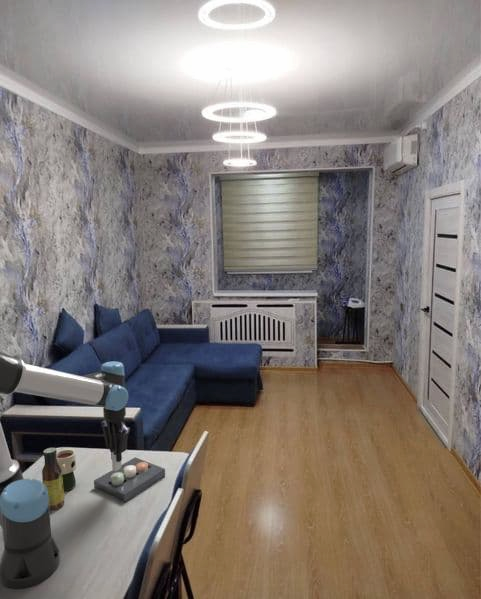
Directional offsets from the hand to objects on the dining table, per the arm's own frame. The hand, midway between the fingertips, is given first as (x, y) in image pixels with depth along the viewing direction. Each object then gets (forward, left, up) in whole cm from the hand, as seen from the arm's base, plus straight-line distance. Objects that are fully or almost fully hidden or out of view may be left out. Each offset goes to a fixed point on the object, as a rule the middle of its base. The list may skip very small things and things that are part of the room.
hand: (116, 468), depth 159 cm
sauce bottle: (-18, +11, -8) cm, 23 cm away
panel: (+6, 0, -8) cm, 10 cm away
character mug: (-9, +17, -8) cm, 21 cm away
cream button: (+6, 0, -6) cm, 8 cm away
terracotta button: (+12, 0, -8) cm, 14 cm away
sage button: (0, 0, -6) cm, 6 cm away
